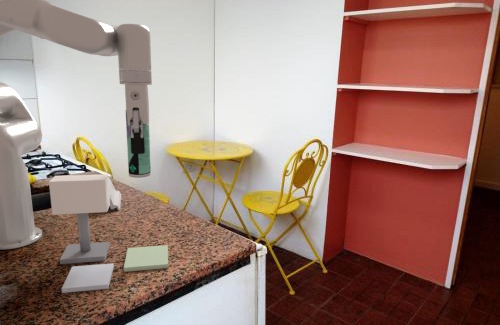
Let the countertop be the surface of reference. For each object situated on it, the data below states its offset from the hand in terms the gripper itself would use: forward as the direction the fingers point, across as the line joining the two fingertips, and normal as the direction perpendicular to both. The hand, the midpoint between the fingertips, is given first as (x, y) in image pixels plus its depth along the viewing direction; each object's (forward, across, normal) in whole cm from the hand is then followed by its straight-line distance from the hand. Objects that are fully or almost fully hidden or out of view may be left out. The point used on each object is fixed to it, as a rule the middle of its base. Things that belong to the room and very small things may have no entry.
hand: (138, 150), depth 93 cm
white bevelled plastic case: (+26, +33, +12) cm, 44 cm away
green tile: (+25, -10, -2) cm, 27 cm away
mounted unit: (+25, -5, +13) cm, 29 cm away
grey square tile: (+25, -17, +11) cm, 32 cm away
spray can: (+7, 0, 0) cm, 7 cm away
